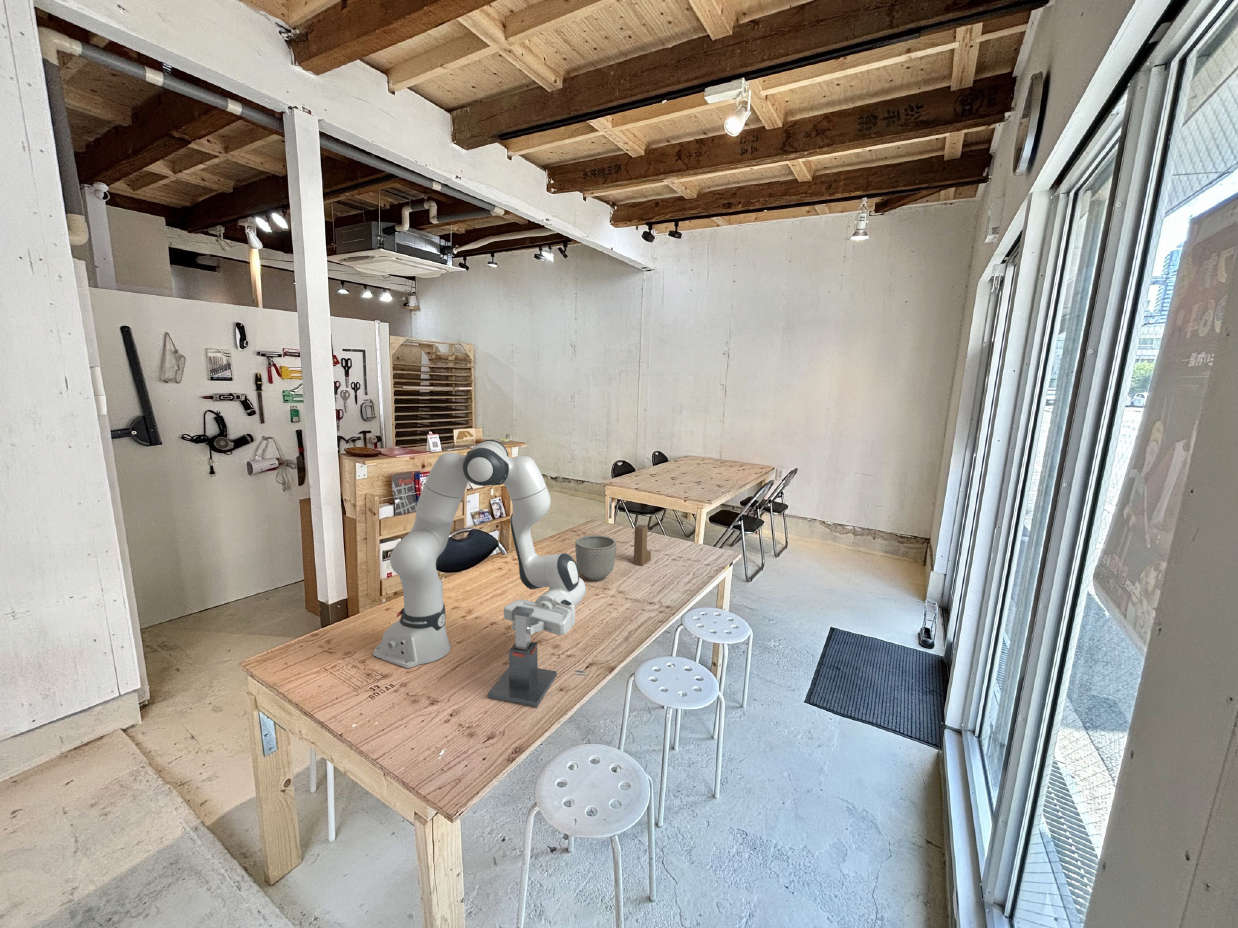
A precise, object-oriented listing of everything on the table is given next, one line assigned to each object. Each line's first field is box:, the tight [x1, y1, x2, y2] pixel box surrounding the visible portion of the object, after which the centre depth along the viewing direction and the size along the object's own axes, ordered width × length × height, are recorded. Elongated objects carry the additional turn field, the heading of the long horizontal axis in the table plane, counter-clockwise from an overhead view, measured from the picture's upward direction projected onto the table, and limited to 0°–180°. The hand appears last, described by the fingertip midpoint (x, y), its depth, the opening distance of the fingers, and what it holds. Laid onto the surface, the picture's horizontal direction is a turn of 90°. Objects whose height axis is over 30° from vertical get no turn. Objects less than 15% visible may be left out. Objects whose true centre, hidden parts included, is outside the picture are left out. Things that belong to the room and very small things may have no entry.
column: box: [512, 606, 534, 652], centre depth 133 cm, size 5×3×20 cm, turn 76°
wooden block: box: [633, 524, 652, 567], centre depth 226 cm, size 9×4×18 cm, turn 149°
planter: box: [574, 534, 617, 582], centre depth 208 cm, size 17×17×16 cm
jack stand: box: [487, 641, 558, 708], centre depth 134 cm, size 14×14×12 cm
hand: (521, 629), depth 132 cm, fingers closed on column, 3 cm apart
